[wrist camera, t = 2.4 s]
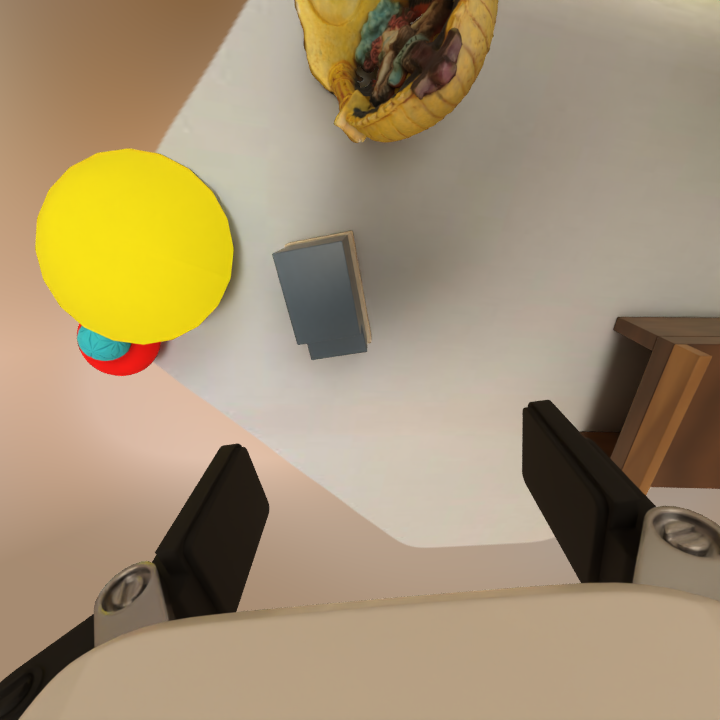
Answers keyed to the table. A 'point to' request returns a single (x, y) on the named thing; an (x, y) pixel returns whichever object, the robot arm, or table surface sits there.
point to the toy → (132, 254)
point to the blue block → (325, 294)
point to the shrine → (396, 59)
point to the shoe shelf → (671, 406)
